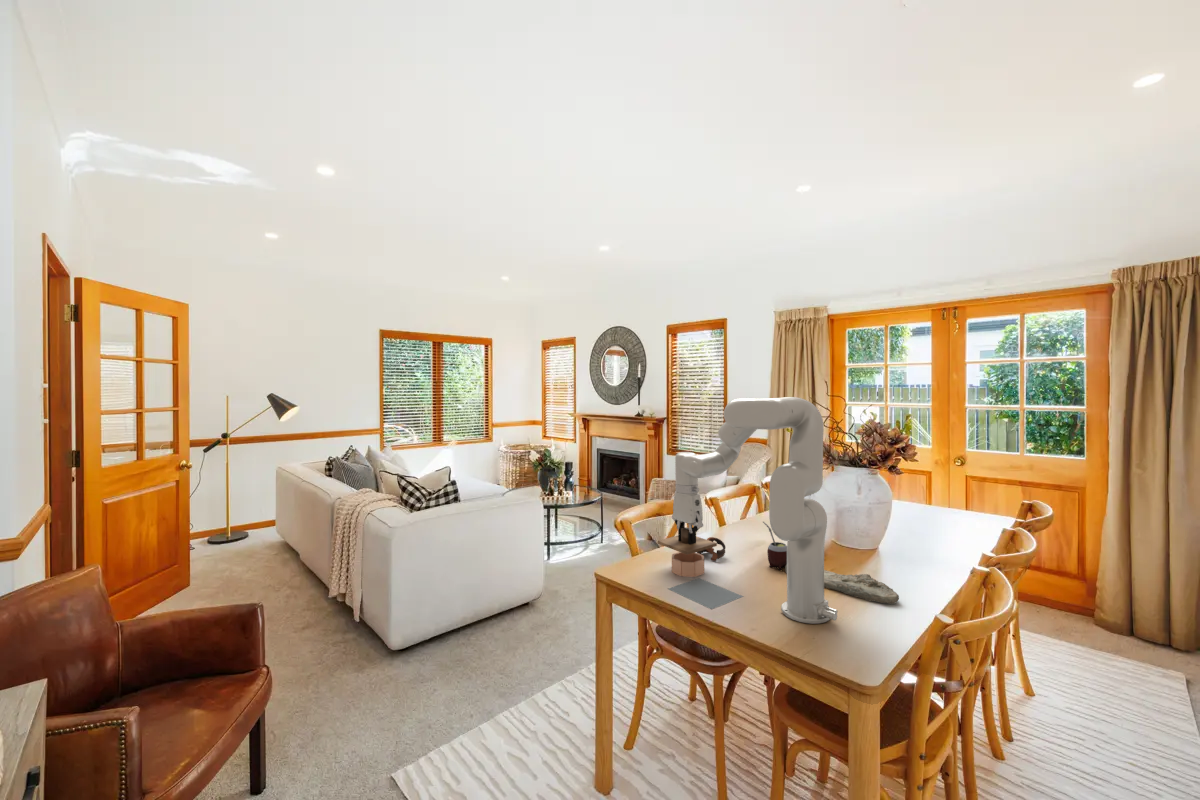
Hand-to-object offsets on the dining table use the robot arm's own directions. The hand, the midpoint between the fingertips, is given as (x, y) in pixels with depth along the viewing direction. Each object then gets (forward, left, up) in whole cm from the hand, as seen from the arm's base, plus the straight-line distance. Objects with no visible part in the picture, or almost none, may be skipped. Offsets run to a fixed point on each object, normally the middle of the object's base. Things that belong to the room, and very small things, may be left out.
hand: (687, 541), depth 169 cm
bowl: (0, 0, -10) cm, 10 cm away
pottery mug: (+5, -16, -11) cm, 20 cm away
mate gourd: (-16, -27, -11) cm, 33 cm away
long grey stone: (-37, -28, -11) cm, 48 cm away
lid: (0, 0, -1) cm, 1 cm away
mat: (-16, +9, -10) cm, 21 cm away
